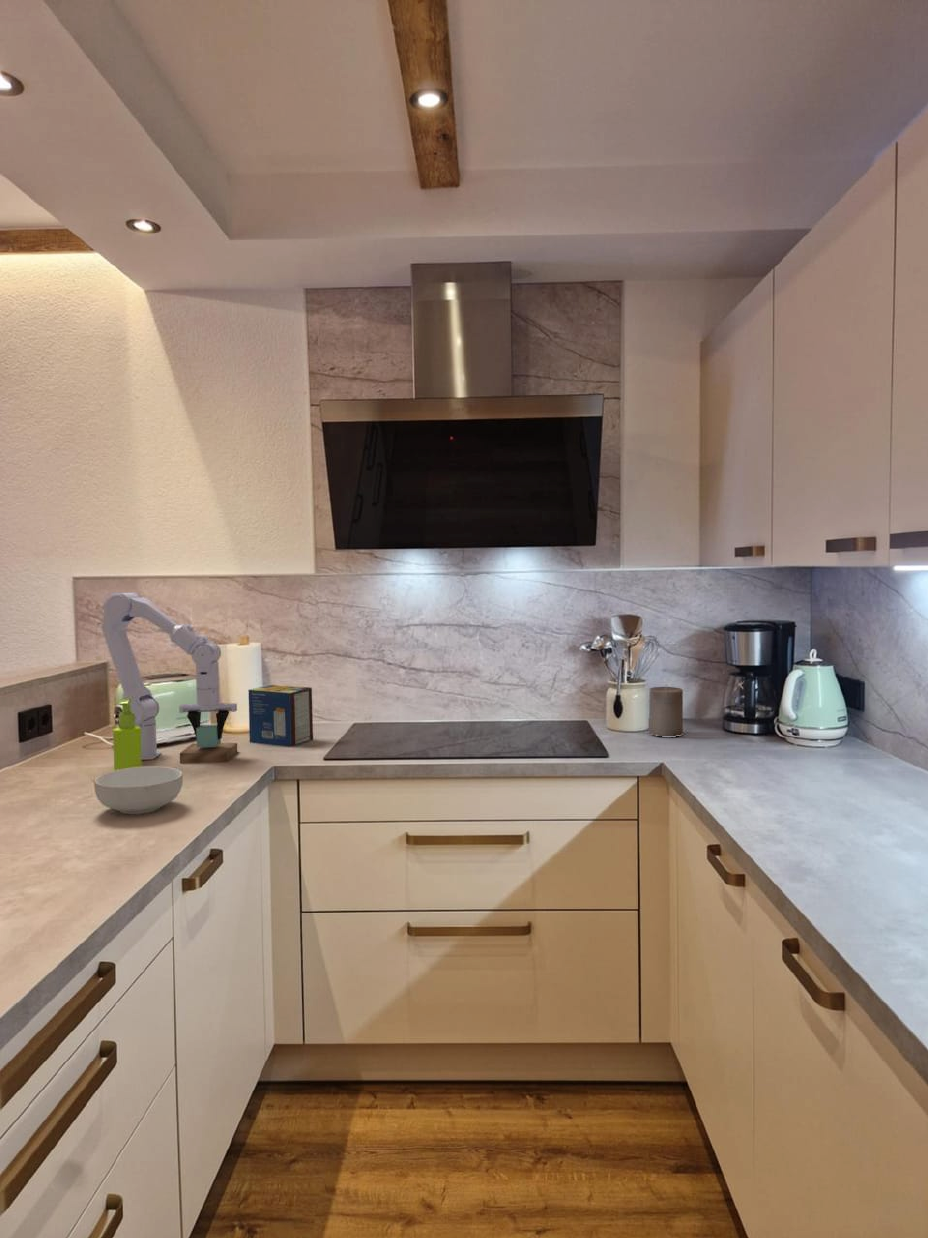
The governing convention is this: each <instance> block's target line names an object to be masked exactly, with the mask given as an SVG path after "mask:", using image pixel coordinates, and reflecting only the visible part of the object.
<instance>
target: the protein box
mask: <svg viewBox="0 0 928 1238" xmlns="http://www.w3.org/2000/svg"><path fill="white" fill-rule="evenodd" d="M247 691H248V722H249V723H248V725H249V727H248V728H249V729H248V730H249V731H248V732H249V735H248V736H249V743H257V744H263V745H264V744H265V745H272V746H273V745H274V746H282V747H294V746H297V745H300V744H304V743H308V742H311V741H313V740H314V727H313V726H314V725H313V724H314V723H313V722H314V720H313V719H314V718H313V688H312V687H311V686H309V687H308V686H307V687H306V686H305V687H304V686H289V685H277V684H276V685H275V684H269V685H264V686H259V687H254V688H250V689H248V690H247Z"/></svg>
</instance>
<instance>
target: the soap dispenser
mask: <svg viewBox="0 0 928 1238" xmlns="http://www.w3.org/2000/svg"><path fill="white" fill-rule="evenodd" d="M130 701H131V698H128V699H122V698H121V699H120V700H119V706H121V707H122V710H121V712H119V713H118V726H117V727H115V728H113V730H112V731H113V732H112V736H113V741H112V742H113V763H114V766H113V767H114V768H113V769H114V770H113V771H115V770H120V769H125V768H133V767H143V761H142V753H141V727H139V726H135V715H134V712H132V711H130ZM122 711H123V712H122Z"/></svg>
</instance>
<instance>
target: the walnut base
mask: <svg viewBox="0 0 928 1238" xmlns="http://www.w3.org/2000/svg"><path fill="white" fill-rule="evenodd" d="M237 753H238V742H221V743H220V744H219V745H218V746H217V747H197V743H192V744H190V745H189V746H188V747H186V748H185V749H183V750H182V751H181V752H180V753H179V764H195V763H196V764H199V763H228V762H229V761H230V760H231V759H232V757H234V756H235V755H236V754H237Z"/></svg>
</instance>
